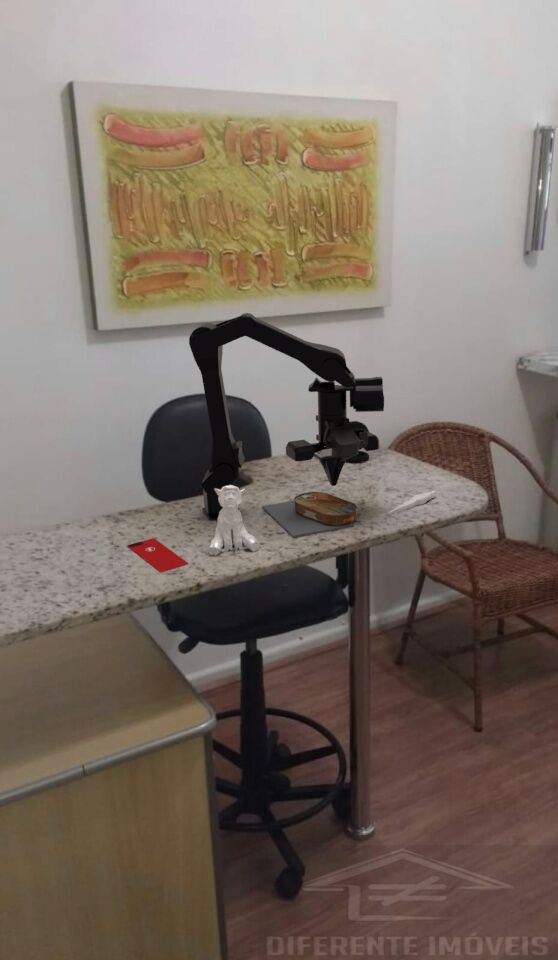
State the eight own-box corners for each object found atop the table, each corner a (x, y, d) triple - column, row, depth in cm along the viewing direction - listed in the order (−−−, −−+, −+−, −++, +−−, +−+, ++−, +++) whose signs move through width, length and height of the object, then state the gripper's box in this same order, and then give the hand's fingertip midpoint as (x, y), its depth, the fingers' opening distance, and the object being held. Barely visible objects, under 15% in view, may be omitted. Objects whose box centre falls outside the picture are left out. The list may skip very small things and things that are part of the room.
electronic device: (189, 566, 136) (154, 540, 148) (189, 563, 136) (153, 537, 148) (160, 575, 133) (126, 547, 145) (160, 572, 133) (126, 545, 145)
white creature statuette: (209, 557, 138) (204, 496, 134) (204, 539, 146) (199, 481, 142) (259, 551, 140) (256, 491, 136) (252, 534, 148) (248, 476, 144)
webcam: (341, 464, 188) (341, 425, 185) (337, 455, 195) (336, 418, 192) (372, 462, 188) (372, 424, 185) (366, 453, 195) (366, 416, 192)
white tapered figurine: (430, 495, 164) (430, 487, 164) (440, 498, 162) (440, 490, 162) (383, 516, 156) (382, 507, 155) (392, 519, 154) (392, 511, 153)
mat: (293, 537, 145) (293, 535, 145) (262, 507, 161) (262, 506, 161) (353, 526, 150) (353, 524, 149) (317, 498, 166) (317, 496, 165)
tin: (365, 507, 151) (335, 515, 146) (364, 522, 152) (334, 530, 147) (316, 488, 162) (286, 495, 157) (315, 502, 163) (285, 509, 158)
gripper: (305, 427, 140) (307, 504, 145) (392, 415, 146) (391, 490, 152) (283, 414, 150) (286, 487, 155) (366, 403, 156) (366, 474, 161)
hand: (333, 485), depth 156 cm, fingers closed
